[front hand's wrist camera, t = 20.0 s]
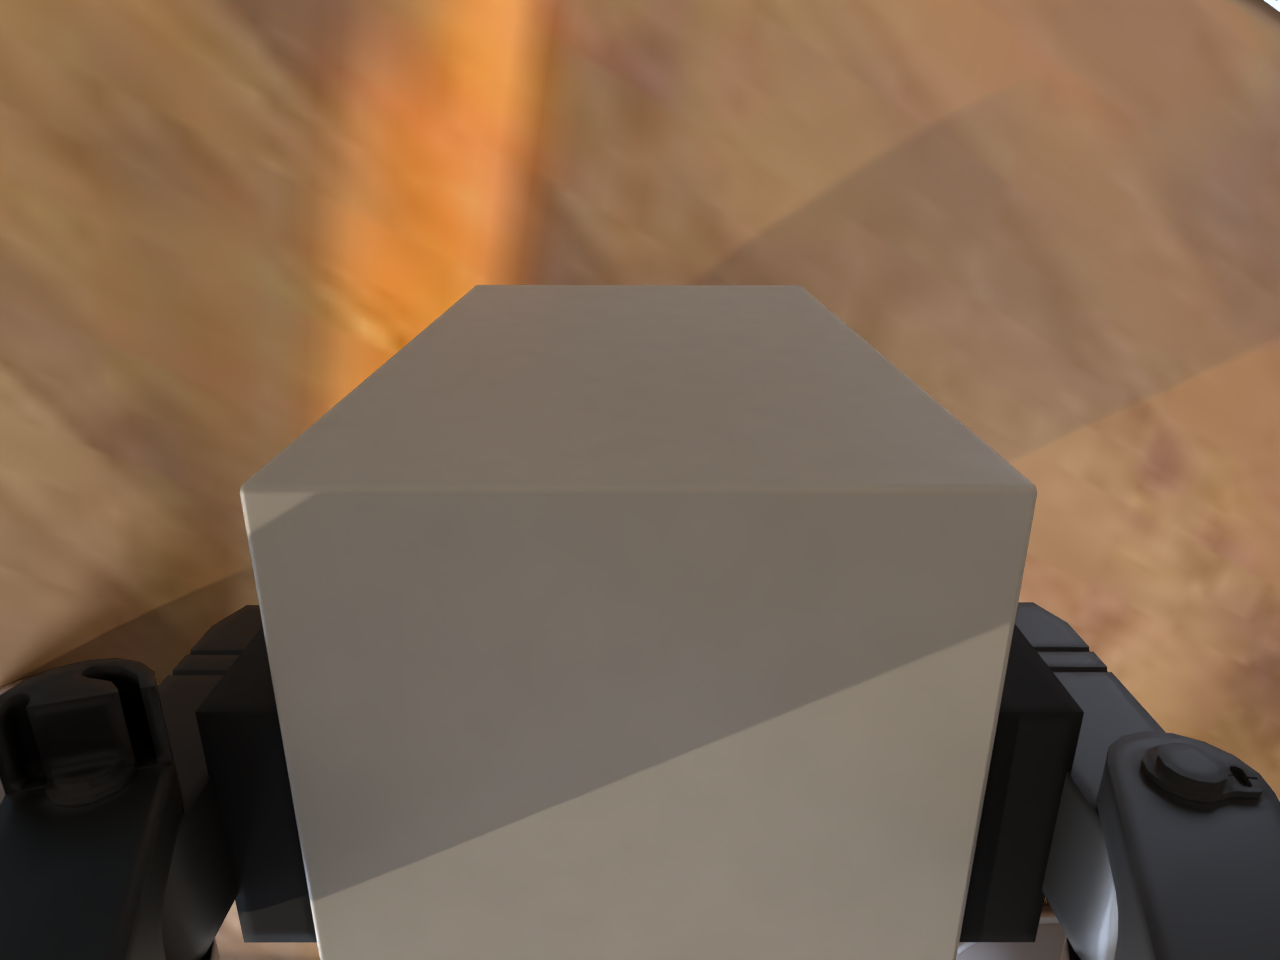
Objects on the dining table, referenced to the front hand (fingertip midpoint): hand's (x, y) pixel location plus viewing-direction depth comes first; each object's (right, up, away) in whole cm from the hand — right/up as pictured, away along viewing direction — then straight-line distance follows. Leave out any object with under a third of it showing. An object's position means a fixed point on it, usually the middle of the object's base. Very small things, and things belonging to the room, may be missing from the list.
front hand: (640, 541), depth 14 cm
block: (0, +2, +4) cm, 4 cm away
